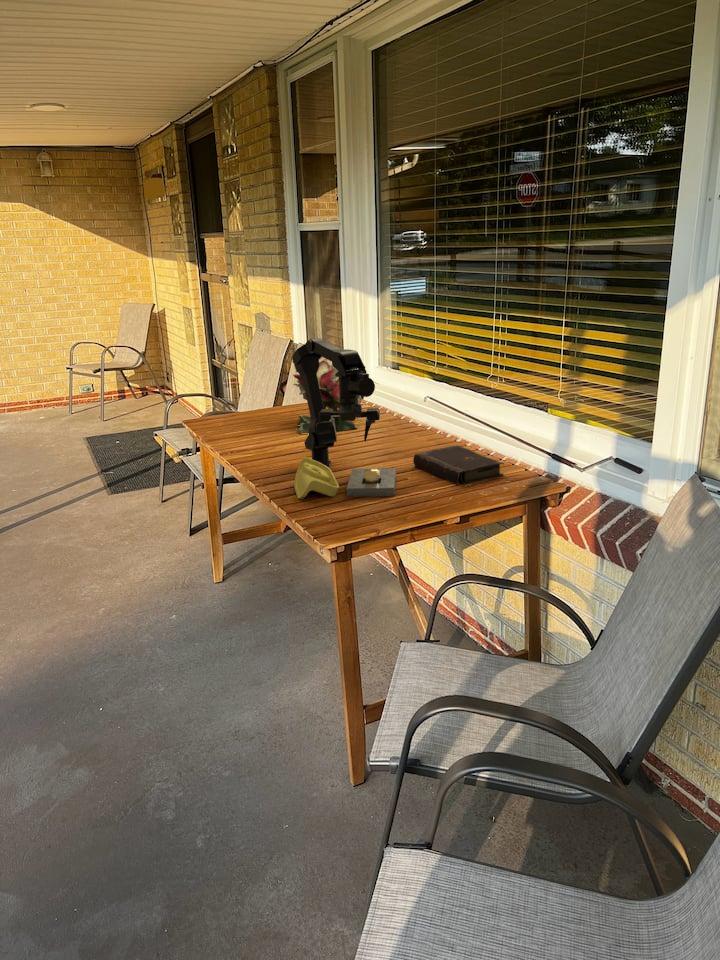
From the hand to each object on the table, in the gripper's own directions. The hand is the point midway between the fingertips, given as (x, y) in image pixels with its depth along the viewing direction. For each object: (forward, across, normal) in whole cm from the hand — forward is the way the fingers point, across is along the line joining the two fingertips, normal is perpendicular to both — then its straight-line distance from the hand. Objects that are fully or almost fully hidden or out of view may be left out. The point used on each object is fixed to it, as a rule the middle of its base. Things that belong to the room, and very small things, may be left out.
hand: (350, 441), depth 228 cm
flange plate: (+12, +7, -8) cm, 16 cm away
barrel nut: (+12, +7, -11) cm, 18 cm away
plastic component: (+12, -10, -10) cm, 19 cm away
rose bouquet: (+12, -17, +73) cm, 76 cm away
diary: (+13, +34, +6) cm, 37 cm away
